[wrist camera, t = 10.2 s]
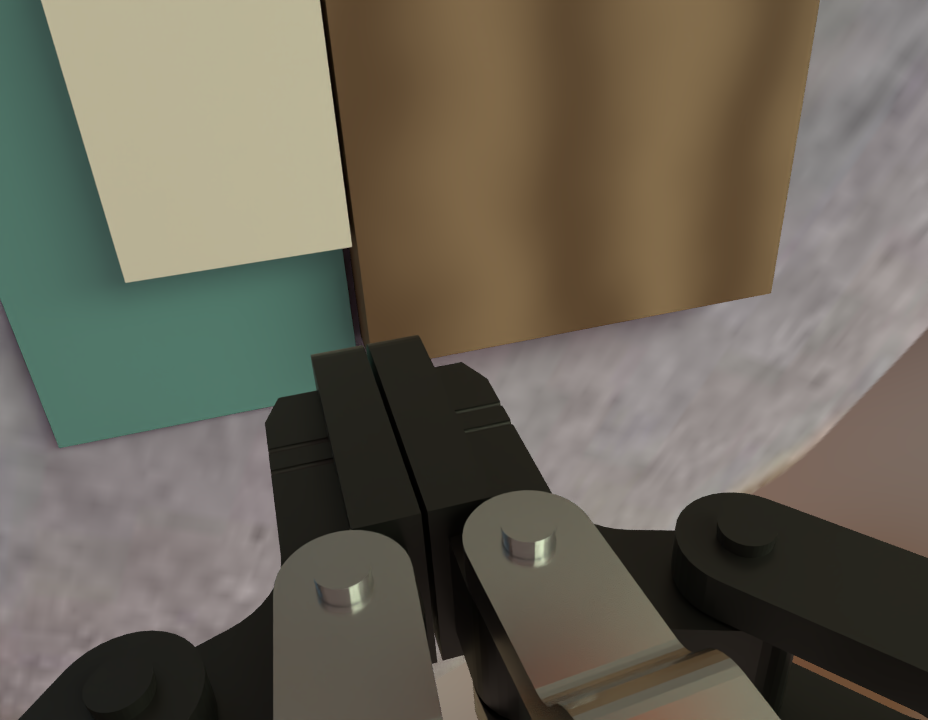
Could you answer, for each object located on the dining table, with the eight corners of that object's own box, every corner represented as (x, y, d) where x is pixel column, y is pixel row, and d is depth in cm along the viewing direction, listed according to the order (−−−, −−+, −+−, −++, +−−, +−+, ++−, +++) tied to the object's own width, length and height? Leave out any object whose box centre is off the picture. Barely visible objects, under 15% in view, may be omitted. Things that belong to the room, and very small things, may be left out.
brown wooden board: (810, -270, 25) (866, -282, 23) (735, 267, 34) (771, 293, 32) (281, -255, 21) (290, -268, 19) (361, 336, 31) (373, 369, 29)
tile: (302, -71, 23) (310, -67, 22) (342, 224, 28) (352, 247, 26) (39, -52, 22) (27, -45, 20) (129, 257, 26) (125, 283, 25)
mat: (269, -255, 21) (271, -257, 21) (359, 381, 32) (361, 388, 31) (-205, -241, 19) (-214, -243, 19) (61, 440, 30) (59, 448, 29)
